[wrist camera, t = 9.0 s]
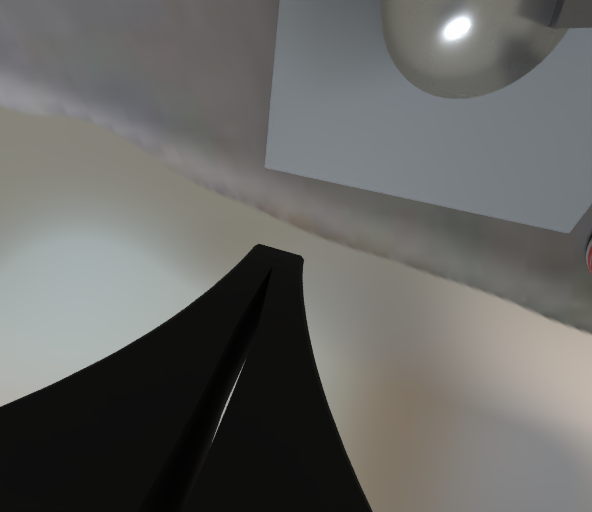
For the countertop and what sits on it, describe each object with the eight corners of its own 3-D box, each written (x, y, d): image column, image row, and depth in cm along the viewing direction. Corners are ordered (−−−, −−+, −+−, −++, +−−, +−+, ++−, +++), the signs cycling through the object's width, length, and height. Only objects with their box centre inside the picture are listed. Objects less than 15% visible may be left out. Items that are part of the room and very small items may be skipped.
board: (270, 158, 19) (264, 168, 18) (323, -379, 9) (316, -422, 8) (558, 220, 18) (569, 234, 17) (941, -306, 8) (1015, -344, 7)
